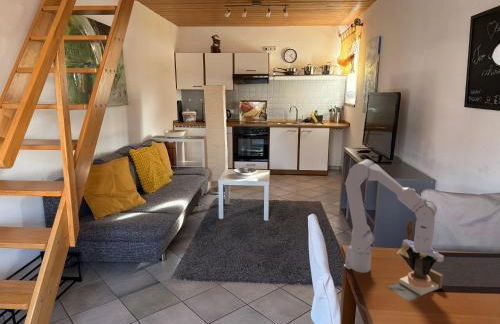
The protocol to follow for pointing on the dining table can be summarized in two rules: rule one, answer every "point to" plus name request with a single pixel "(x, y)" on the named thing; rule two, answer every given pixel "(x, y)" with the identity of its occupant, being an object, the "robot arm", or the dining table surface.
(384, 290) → the dining table surface
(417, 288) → the square socket base
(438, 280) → the l-shaped bracket
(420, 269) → the dowel
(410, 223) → the hand bell
